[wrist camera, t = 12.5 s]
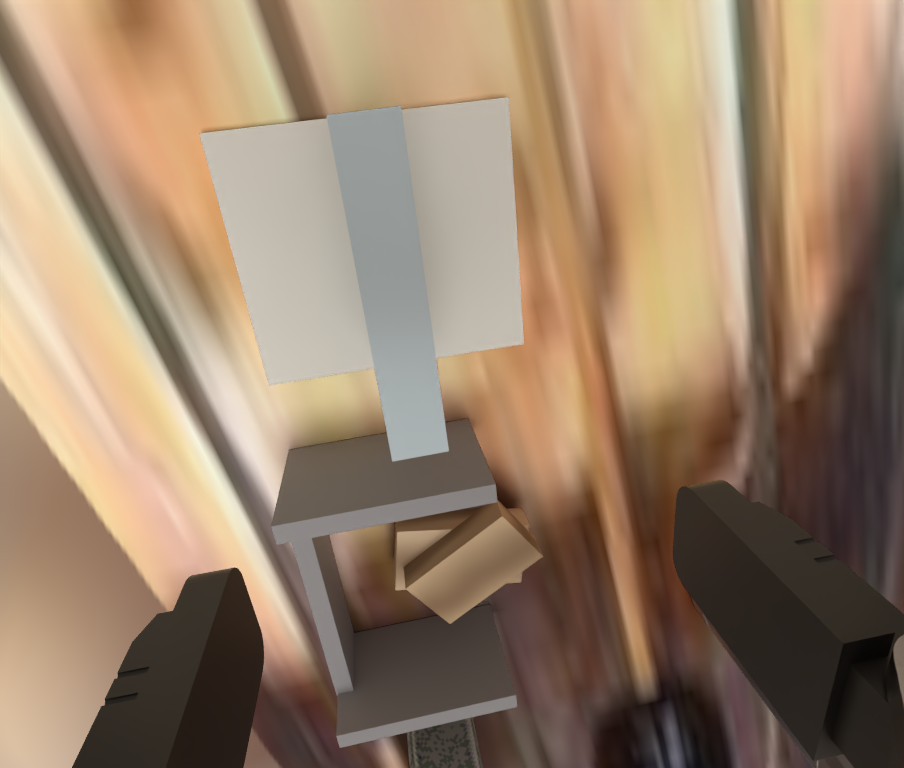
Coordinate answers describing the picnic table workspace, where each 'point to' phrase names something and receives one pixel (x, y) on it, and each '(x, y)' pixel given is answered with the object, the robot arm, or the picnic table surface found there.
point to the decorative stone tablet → (445, 746)
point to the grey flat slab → (390, 275)
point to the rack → (405, 644)
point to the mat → (329, 248)
